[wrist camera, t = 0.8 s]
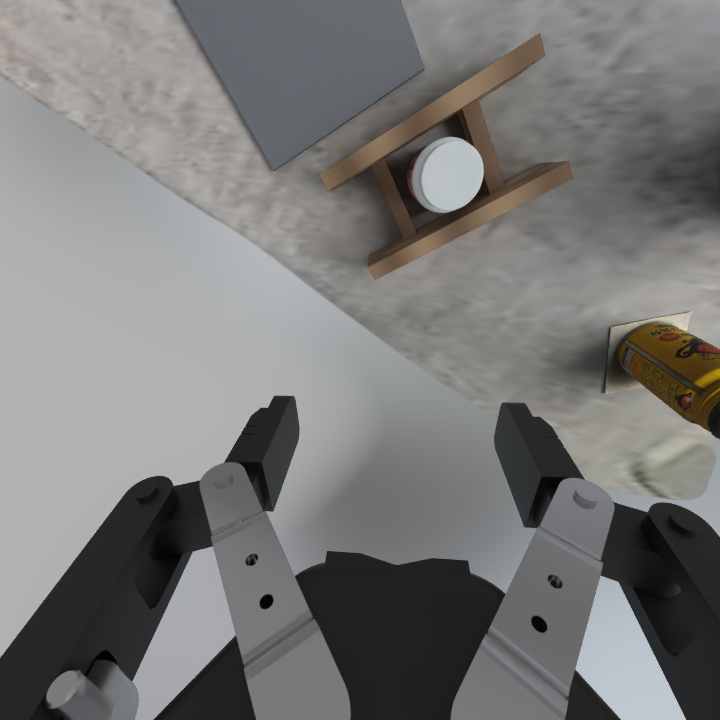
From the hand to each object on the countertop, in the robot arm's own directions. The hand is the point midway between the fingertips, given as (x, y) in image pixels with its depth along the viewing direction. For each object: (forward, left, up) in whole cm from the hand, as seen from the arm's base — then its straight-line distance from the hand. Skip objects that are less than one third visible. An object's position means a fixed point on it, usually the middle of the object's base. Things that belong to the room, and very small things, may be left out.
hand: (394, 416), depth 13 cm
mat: (-2, -20, -23) cm, 30 cm away
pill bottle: (-7, -6, -23) cm, 25 cm away
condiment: (-20, +20, -23) cm, 37 cm away
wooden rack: (-7, -6, -23) cm, 24 cm away
